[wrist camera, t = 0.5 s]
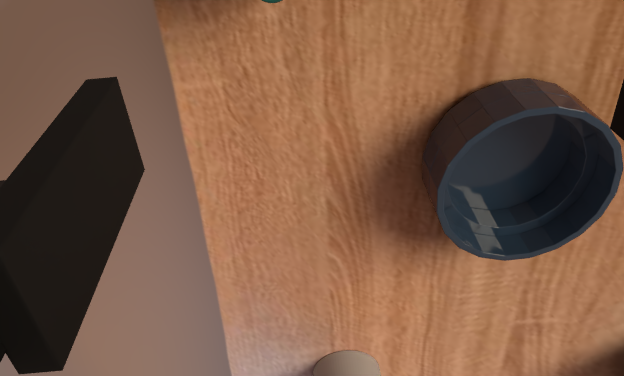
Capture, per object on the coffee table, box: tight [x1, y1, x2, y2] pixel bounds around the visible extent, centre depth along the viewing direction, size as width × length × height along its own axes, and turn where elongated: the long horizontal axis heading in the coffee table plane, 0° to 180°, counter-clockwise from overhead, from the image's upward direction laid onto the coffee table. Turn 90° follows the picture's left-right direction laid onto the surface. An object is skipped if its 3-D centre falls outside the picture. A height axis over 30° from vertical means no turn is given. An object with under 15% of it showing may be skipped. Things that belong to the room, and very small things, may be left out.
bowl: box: [422, 78, 623, 261], centre depth 44 cm, size 15×15×6 cm
